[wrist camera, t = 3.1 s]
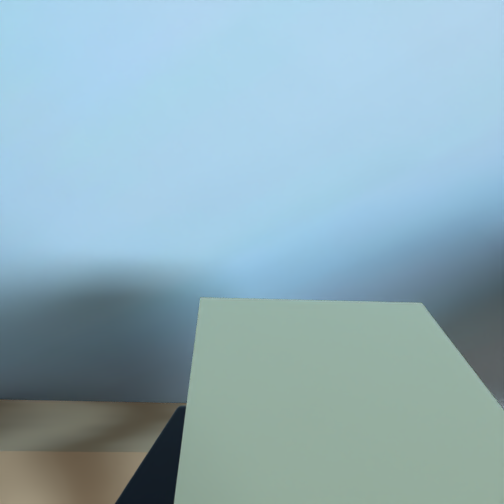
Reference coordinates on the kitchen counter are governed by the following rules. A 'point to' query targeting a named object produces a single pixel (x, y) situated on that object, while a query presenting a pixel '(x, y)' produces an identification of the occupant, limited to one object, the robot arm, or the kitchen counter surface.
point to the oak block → (74, 448)
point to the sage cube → (334, 408)
